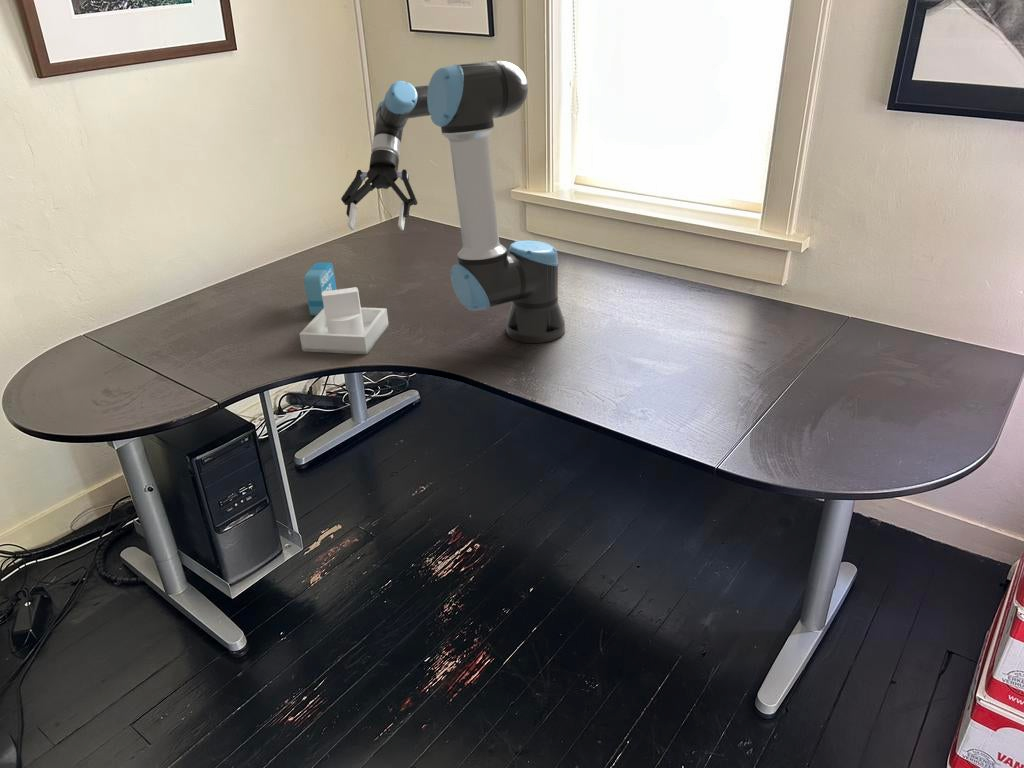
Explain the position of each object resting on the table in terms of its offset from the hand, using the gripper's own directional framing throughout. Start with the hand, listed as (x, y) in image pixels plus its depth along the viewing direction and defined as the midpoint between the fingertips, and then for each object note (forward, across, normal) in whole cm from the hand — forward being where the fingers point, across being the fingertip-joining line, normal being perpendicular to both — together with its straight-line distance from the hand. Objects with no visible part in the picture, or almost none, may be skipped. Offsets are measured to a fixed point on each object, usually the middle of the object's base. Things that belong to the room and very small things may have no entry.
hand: (375, 228), depth 195 cm
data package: (+17, +18, -17) cm, 30 cm away
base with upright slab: (+28, +6, -4) cm, 29 cm away
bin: (+29, +6, -5) cm, 30 cm away
